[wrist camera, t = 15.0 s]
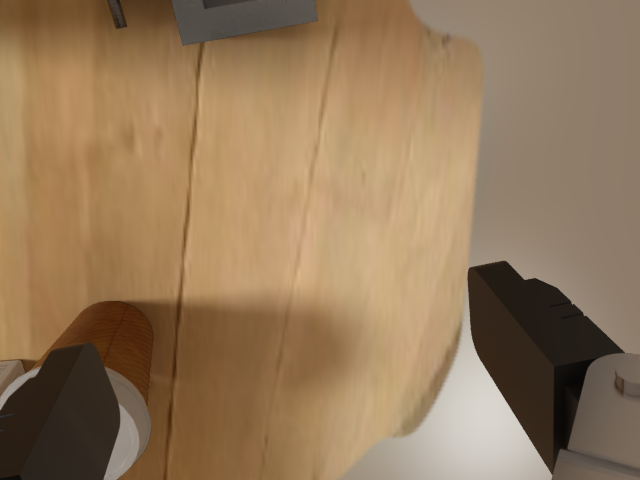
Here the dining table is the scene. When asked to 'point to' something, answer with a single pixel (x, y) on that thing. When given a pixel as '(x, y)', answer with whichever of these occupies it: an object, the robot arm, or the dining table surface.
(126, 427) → the disposable coffee cup
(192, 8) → the vise
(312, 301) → the dining table surface
